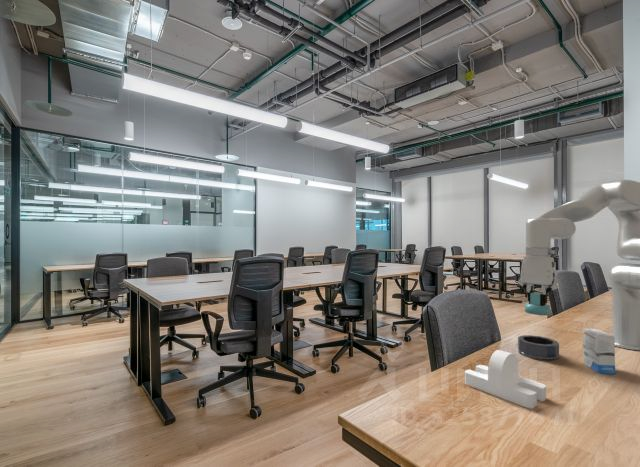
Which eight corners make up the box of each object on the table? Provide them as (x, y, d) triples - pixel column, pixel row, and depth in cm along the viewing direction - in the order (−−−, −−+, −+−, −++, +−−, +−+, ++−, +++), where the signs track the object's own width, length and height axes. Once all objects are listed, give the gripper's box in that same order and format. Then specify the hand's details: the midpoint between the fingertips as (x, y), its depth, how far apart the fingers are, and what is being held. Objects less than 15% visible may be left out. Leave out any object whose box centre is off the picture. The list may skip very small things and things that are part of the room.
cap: (530, 309, 127) (530, 290, 127) (553, 313, 121) (553, 293, 121) (521, 312, 123) (521, 292, 123) (544, 316, 117) (545, 295, 117)
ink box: (616, 374, 105) (616, 336, 105) (597, 373, 106) (597, 335, 106) (599, 364, 113) (599, 328, 113) (582, 363, 114) (582, 327, 114)
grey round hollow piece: (526, 346, 131) (526, 333, 131) (563, 355, 121) (563, 341, 121) (512, 353, 123) (512, 339, 123) (550, 363, 114) (550, 348, 114)
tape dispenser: (531, 410, 84) (531, 366, 84) (463, 384, 98) (463, 346, 98) (547, 399, 89) (547, 357, 89) (480, 376, 104) (480, 340, 104)
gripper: (568, 253, 118) (568, 307, 118) (518, 251, 131) (517, 299, 131) (560, 254, 113) (560, 309, 113) (509, 251, 126) (508, 301, 126)
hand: (537, 303), depth 122 cm, fingers closed on cap, 3 cm apart
